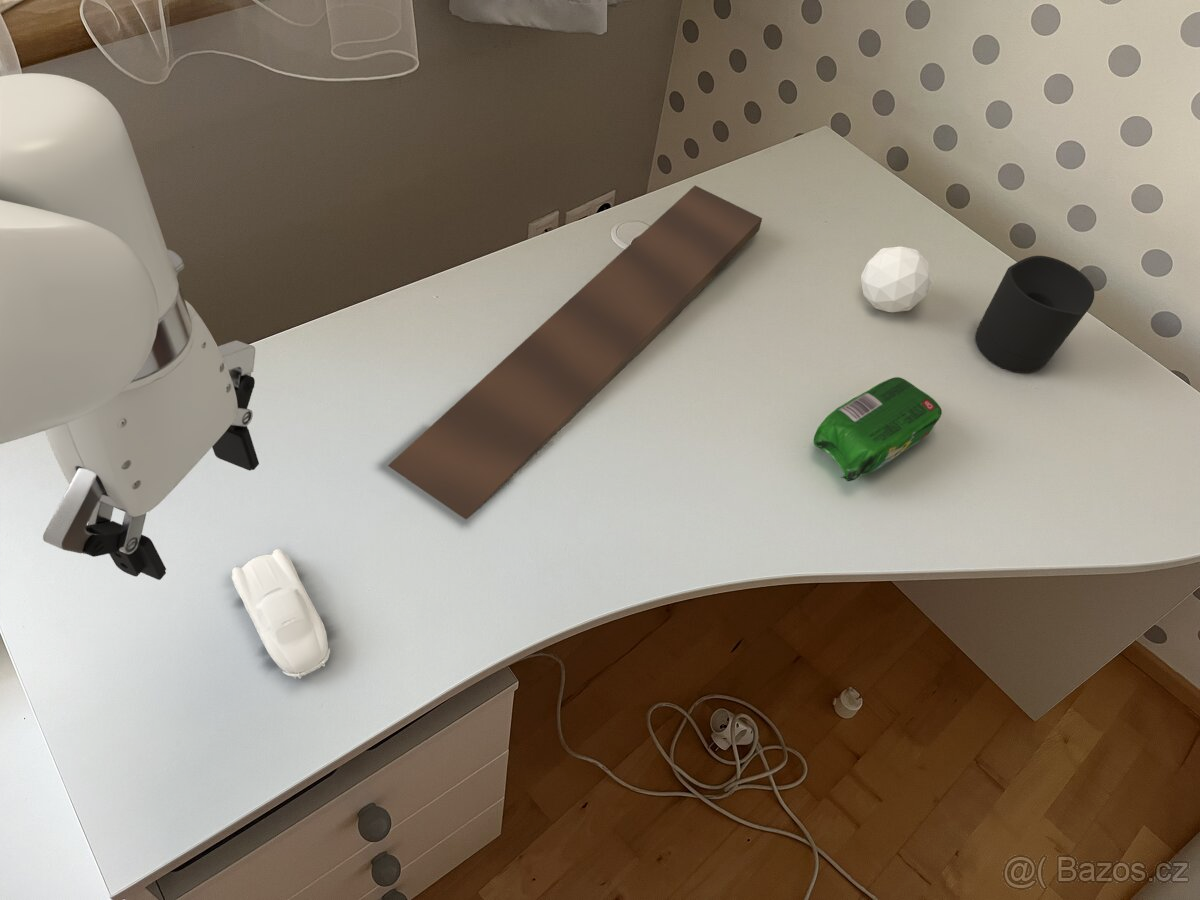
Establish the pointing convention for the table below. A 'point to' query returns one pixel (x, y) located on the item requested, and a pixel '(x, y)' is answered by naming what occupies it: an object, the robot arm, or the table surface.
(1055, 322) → the pen holder
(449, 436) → the ramp
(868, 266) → the geometric ball
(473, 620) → the table surface
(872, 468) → the snack package
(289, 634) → the toy car
